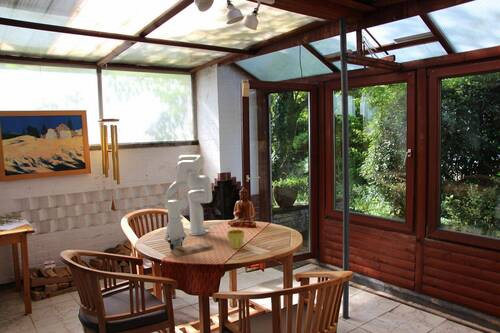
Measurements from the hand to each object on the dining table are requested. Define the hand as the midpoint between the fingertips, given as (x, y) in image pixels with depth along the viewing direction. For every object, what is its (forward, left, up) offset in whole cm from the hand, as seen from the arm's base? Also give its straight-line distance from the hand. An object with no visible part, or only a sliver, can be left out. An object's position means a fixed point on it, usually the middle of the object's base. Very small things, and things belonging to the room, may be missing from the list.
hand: (176, 248), depth 251 cm
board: (-7, +7, -1) cm, 10 cm away
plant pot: (-32, +19, -2) cm, 37 cm away
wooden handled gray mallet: (0, +5, -1) cm, 5 cm away
